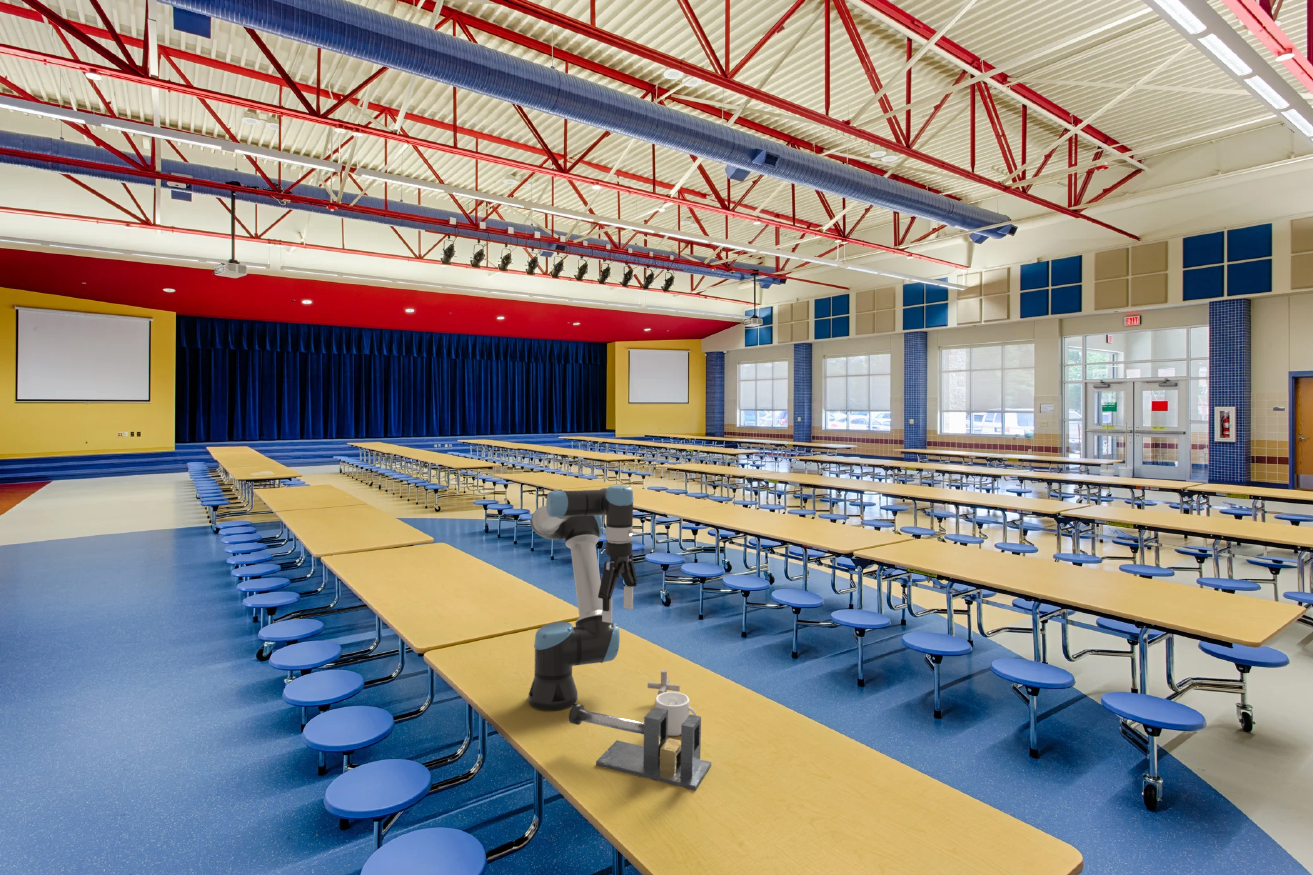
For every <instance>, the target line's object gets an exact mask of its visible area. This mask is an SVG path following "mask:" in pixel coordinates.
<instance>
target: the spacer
mask: <svg viewBox="0 0 1313 875" xmlns="http://www.w3.org/2000/svg"><path fill="white" fill-rule="evenodd" d="M676 763H679V764H681V739H675V738H671V737H668V740H667V741H666V742H665V743H664V744H663V746H662V747H661V748H660V770H662V771H666V772H670V773H674V774H675V773H676Z"/></svg>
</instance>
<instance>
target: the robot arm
mask: <svg viewBox="0 0 1313 875" xmlns="http://www.w3.org/2000/svg"><path fill="white" fill-rule="evenodd" d="M634 501H635V500H634V490H633V488H632V487H630V486H627V485H612V486H609V487H607V488H606V487H605V488H603V487H602V488H601V489H600V488H599V489H588V490H586V489H583V490H562V489H561V490H560V489H559V490H556V491H555V490H554V491H549V492H548V493H547V496H546V504H545V505H542V506H539V507H538V508H537V509H535V511H534V512H533V513H532V515H531V518H530V526H531V528H532V530H533V531H534V532H535V534H537V535H538V536H540V537H542V538H544V539H547V540H551V541H553V540H555V541H556V540H557V541H558V540H564V543H565V544H564V545H565V546H566V547H567V548H568V549H570V553H571V564H572V570H573V578H574V584H575V593H576V603H577V610H578V618H577V620H576V621H575V626H573V624H572V623H570V622H568V621H563V622H562V621H556V622H551V623H547V624H546V625H542V626H541V627H540V628H538V629H537V630H536V633H535V636H534V645H533V646H534V677H533V680H532V682H531V686H530V688H529V691H528V704H529V705H530V707H532V708H534V709H536V710H541V711H548V712H549V711H550V712H551V711H559V710H560V711H561V710H564V709H568V708H571V707H572V705H573V704H577V701H578V690H577V686H576V683H575V680H574V677H573V667H575V666H581V665H582V666H583V665H591V664H597V663H598V664H603V663H605V662H612V661H614V660H615V659H616V657H617V655H618V653H619V648H620V637H621V635H620V627H619V625H618V623H616V622H613V602H614V601H613V598H612V596H613V592H614V589H615V586H616V583H617V581H618V579H619V578H620V577H621V578H622V579H623V582H624V586H623V609H626V610H633V609H634V587H637V586H638V584H637V583H638V582H637V581H638V578H637V577H638V576H637V574H636V569H635V564H634V556H633V542H632V540H633V534H634V530H633V522H634V521H633V520H634V517H633V515H634ZM602 516H606V517H605V519H606V522H605V540H606V542H605V554H606V555H607V557H608V556H609V557H610V558H609V561H604V563H603V572H602V576H601V573H600V567H599V560H598V553H597V548H596V545H597V543H599V541H600V538H601V537H602V536H603V520H602Z"/></svg>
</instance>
